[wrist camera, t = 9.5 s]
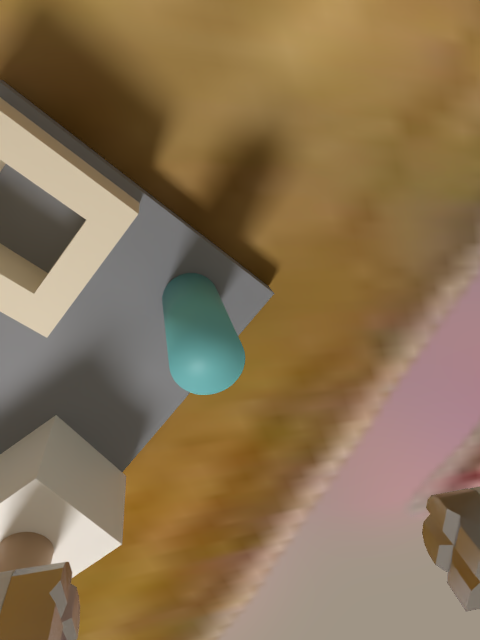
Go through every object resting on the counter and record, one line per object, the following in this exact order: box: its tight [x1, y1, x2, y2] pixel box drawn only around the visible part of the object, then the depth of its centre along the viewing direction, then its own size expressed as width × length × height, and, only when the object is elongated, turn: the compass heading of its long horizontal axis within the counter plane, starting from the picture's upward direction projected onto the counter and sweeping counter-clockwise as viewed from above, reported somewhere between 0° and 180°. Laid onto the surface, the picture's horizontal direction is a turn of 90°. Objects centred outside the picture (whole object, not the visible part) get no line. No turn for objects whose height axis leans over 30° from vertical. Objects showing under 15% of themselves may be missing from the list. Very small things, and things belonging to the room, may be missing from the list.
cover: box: [0, 415, 126, 577], centre depth 22 cm, size 7×6×9 cm
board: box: [0, 80, 274, 472], centre depth 23 cm, size 21×16×4 cm
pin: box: [162, 273, 245, 395], centre depth 21 cm, size 3×3×7 cm
